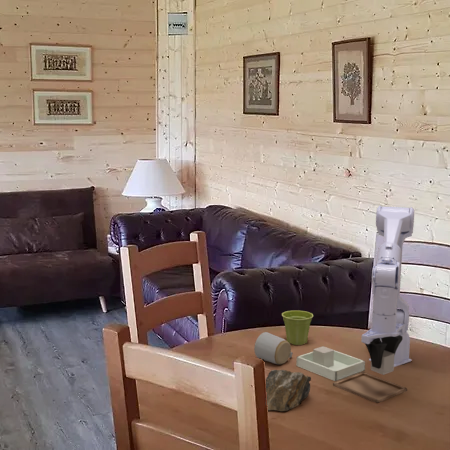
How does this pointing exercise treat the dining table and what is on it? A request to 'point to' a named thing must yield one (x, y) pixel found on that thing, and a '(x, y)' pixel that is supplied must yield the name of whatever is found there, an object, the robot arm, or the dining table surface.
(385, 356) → the stone
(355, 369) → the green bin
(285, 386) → the rock
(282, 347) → the ceramic mug
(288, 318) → the plant pot
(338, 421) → the dining table surface
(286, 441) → the dining table surface
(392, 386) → the wooden tray
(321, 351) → the stone
